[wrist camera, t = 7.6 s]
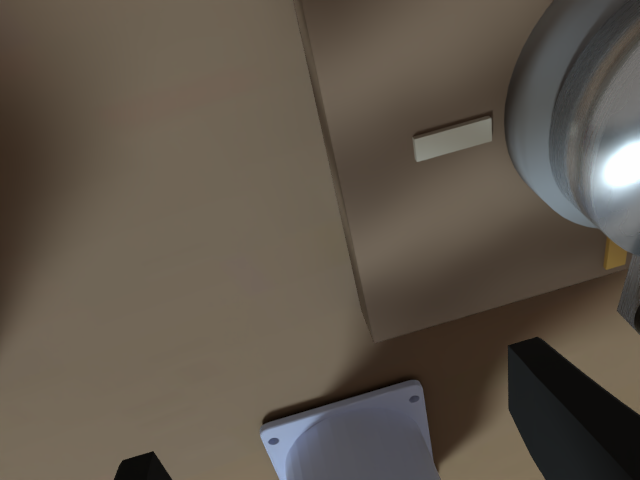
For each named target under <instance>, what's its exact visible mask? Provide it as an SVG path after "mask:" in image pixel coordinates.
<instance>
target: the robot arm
mask: <svg viewBox="0 0 640 480" xmlns="http://www.w3.org/2000/svg"><path fill="white" fill-rule="evenodd" d="M508 405H509V411H510V413H511V415H512V418H513V420H514V422H515V424H516V426H517V428H518V430H519V432H520V434H521V437H522V439H523V441H524V443H525V445H526V447H527V449H528V451H529V453H530V455H531V457H532V458H533V460H534V462H535V463H536V465H537V467H538V468H539V470H540V471H541V473H542V475H543V476H544V478H545V479H546V480H640V415H639V414H638V413H636V412H635V411H633V410H632V409H631V408H629V407H628V406H627V405H625V404H624V403H622V402H621V401H620V400H618V399H617V398H616V397H614V396H613V395H612V394H610V393H609V392H608V391H606V390H605V389H604V388H602V387H601V386H600V385H598V384H597V383H596V382H595V381H593V380H592V379H591V378H589V377H588V376H587V375H586V374H584V373H583V372H582V371H581V370H579V369H578V368H577V367H575V366H574V365H573V364H572V363H570V362H569V361H568V360H567V359H566V358H564V357H563V356H562V355H561V354H559V353H558V352H557V351H556V350H555V349H553V348H552V347H551V346H550V345H548V344H547V343H546V342H545V341H544V340H542V339H541V338H539V337H535V338H532V339H528V340H525V341H521V342H518V343H515V344H511V345H508ZM260 436H261V439H262V441H263V444H264V446H265V448H266V450H267V452H268V455H269V457H270V459H271V461H272V464H273V466H274V468H275V470H276V472H277V475H278V477H279V479H280V480H441V479H440V477H439V474H438V472H437V469H436V467H435V464H434V461H433V454H432V447H431V441H430V434H429V427H428V420H427V413H426V407H425V400H424V393H423V388H422V386H421V384H420V382H419V381H418V380H409V381H405V382H402V383H399V384H395V385H392V386H388V387H385V388H382V389H378V390H375V391H372V392H368V393H365V394H362V395H358V396H355V397H352V398H348V399H345V400H342V401H338V402H335V403H331V404H328V405H325V406H321V407H318V408H315V409H311V410H308V411H305V412H301V413H298V414H295V415H291V416H288V417H285V418H281V419H278V420H275V421H271V422H268V423H266V424H264V425H263V426H261V428H260ZM114 480H172V479H171V477H170V476H169V474H168V473H167V471H166V470H165V468H164V467H163V465H162V464H161V462H160V461H159V459H158V458H157V456H156V455H155V453H154V451H152V452H149V453H146V454H142V455H139V456H136V457H132V458H129V459H126V460H123V461H122V462H121V464H120V465H119V468H118V470H117V473H116V475H115V478H114Z"/></svg>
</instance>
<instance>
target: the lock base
mask: <svg viewBox="0 0 640 480" xmlns="http://www.w3.org/2000/svg"><path fill="white" fill-rule="evenodd" d="M293 1H294V6H295V10H296V15H297V19H298V24H299V29H300V33H301V38H302V42H303V47H304V51H305V56H306V60H307V65H308V69H309V74H310V79H311V83H312V88H313V92H314V97H315V101H316V106H317V110H318V115H319V119H320V124H321V129H322V133H323V138H324V142H325V147H326V151H327V156H328V160H329V165H330V169H331V174H332V178H333V183H334V188H335V192H336V197H337V201H338V206H339V210H340V215H341V219H342V224H343V228H344V233H345V238H346V242H347V247H348V251H349V256H350V260H351V265H352V269H353V274H354V278H355V283H356V288H357V292H358V297H359V301H360V306H361V310H362V313H363V316H364V318H365V321H366V323H367V326H368V328H369V331H370V334H371V336H372V339H373V341H374V343H378V342H381V341H384V340H388V339H391V338H395V337H398V336H401V335H405V334H408V333H412V332H415V331H418V330H422V329H425V328H428V327H432V326H435V325H439V324H442V323H445V322H449V321H452V320H456V319H459V318H462V317H466V316H469V315H473V314H476V313H479V312H483V311H486V310H490V309H493V308H496V307H500V306H503V305H506V304H510V303H513V302H517V301H520V300H523V299H527V298H530V297H534V296H537V295H540V294H544V293H547V292H551V291H554V290H557V289H561V288H564V287H568V286H571V285H574V284H578V283H581V282H584V281H588V280H591V279H595V278H598V277H601V276H605V275H608V274H612V273H615V272H618V271H622V270H625V269H629V266H630V262H631V259H632V255H633V254H632V253H630V252H628V251H626V250H624V249H622V248H621V247H620V246H618V245H617V244H615V243H614V242H613V241H612V240H611V239H610V238H608V237H607V236H606V235H605V234H604V233H603V232H602V231H601V230H600V229H598V228H597V227H596V226H595V225H594V224H593V223H592V222H591V221H589V220H588V219H587V218H586V217H585V216H584V215H583V214H582V213H581V212H579V211H578V210H577V209H576V208H575V207H574V206H573V205H572V204H571V203H570V202H569V201H568V200H567V199H566V198H565V197H564V196H563V194H562V193H561V191H560V190H559V188H558V186H557V184H556V182H555V179H554V177H553V174H552V171H551V166H550V161H549V146H548V144H549V132H550V125H551V121H552V116H553V111H554V108H555V105H556V102H557V99H558V96H559V93H560V91H561V89H562V87H563V84H564V82H565V80H566V78H567V76H568V74H569V72H570V70H571V69H572V67H573V65H574V63H575V62H576V60H577V58H578V57H579V55H580V54H581V52H582V51H583V49H584V48H585V47H586V45H587V44H588V42H589V41H590V40H591V38H592V37H593V36H594V35H595V33H596V32H597V31H598V30H599V29H600V28H601V26H602V25H603V24H604V23H605V22H606V21H607V20H608V19H609V18H610V17H611V16H612V15H613V14H614V13H615V12H616V11H617V10H618V9H619V8H620V7H621V6H622V5H623V4H624V3H625V2H627V1H628V0H293Z"/></svg>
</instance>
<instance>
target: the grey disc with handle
mask: <svg viewBox="0 0 640 480" xmlns="http://www.w3.org/2000/svg"><path fill="white" fill-rule="evenodd" d="M548 146H549V161H550V166H551V171H552V174H553V177H554V179H555V182H556V184H557V186H558V188H559V190H560V191H561V193H562V194H563V196H564V197H565V198H566V199H567V200H568V201H569V202H570V203H571V204H572V205H573V206H574V207H575V208H576V209H577V210H578V211H579V212H581V213H582V214H583V215H584V216H585V217H586V218H587V219H588V220H589V221H591V222H592V223H593V224H594V225H595V226H596V227H597V228H598V229H600V230H601V231H602V232H603V233H604V234H605V235H606V236H607V237H608V238H610V239H611V240H612V241H613V242H614V243H615V244H617V245H618V246H620V247H621V248H622V249H624V250H626V251H628V252H630V253H632V254H633V255H632V259H631V262H630V266H629V269H628V273H627V276H626V280H625V283H624V287H623V290H622V294H621V297H620V301H619V305H618V308H617V312H618V313H619V314H620V315H621V316H622V317H623V318H624V319H625V320H626V321H627V322H628V323H629V324H630V325H631V326H632V327H633V328H634V329H635V330H636V331H637V333H638V334H640V0H628V1H627V2H625V3H624V4H623V5H622V6H621V7H620V8H619V9H618V10H617V11H616V12H615V13H614V14H613V15H612V16H611V17H610V18H609V19H608V20H607V21H606V22H605V23H604V24H603V25H602V26H601V28H600V29H599V30H598V31H597V32H596V33H595V35H594V36H593V37H592V38H591V40H590V41H589V42H588V44H587V45H586V47H585V48H584V49H583V51H582V52H581V54H580V55H579V57H578V58H577V60H576V62H575V63H574V65H573V67H572V69H571V70H570V72H569V74H568V76H567V78H566V80H565V82H564V84H563V87H562V89H561V91H560V93H559V96H558V99H557V102H556V105H555V108H554V111H553V116H552V121H551V125H550V132H549V144H548Z"/></svg>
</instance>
